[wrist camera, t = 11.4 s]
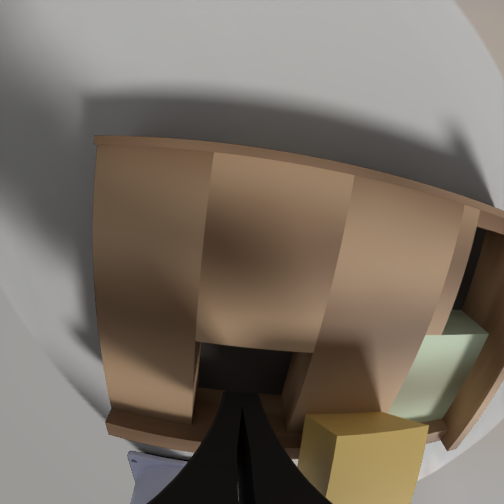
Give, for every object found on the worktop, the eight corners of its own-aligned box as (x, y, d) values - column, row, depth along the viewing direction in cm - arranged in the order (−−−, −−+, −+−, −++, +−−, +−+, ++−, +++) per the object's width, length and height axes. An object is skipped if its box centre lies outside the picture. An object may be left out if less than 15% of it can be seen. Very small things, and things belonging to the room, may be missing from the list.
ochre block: (381, 411, 12) (368, 480, 11) (305, 414, 12) (293, 487, 11) (428, 425, 9) (408, 508, 7) (337, 436, 8) (318, 526, 7)
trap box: (425, 398, 16) (456, 448, 12) (130, 384, 15) (102, 449, 10) (496, 211, 13) (559, 233, 8) (129, 139, 11) (67, 132, 7)
